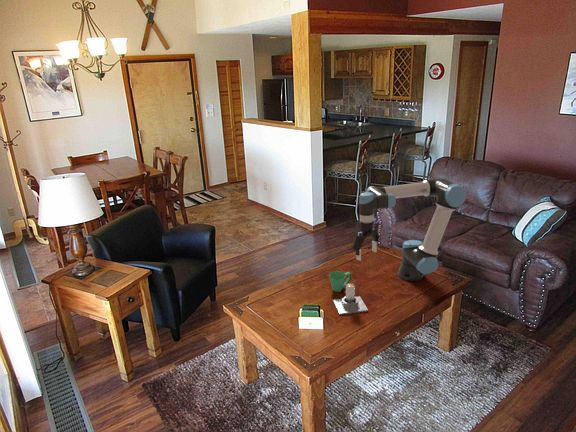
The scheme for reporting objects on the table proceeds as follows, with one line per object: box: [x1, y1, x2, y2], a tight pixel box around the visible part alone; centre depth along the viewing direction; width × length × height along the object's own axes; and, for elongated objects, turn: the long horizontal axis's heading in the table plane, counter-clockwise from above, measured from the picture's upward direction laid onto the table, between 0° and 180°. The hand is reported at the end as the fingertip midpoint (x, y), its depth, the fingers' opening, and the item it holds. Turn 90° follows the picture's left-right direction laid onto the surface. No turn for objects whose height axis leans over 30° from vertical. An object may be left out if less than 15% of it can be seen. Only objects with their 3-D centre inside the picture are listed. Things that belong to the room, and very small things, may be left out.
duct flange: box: [332, 295, 369, 316], centre depth 223 cm, size 16×14×4 cm
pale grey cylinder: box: [345, 283, 356, 304], centre depth 221 cm, size 5×5×12 cm
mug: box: [328, 270, 352, 293], centre depth 239 cm, size 15×10×10 cm
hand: (366, 255), depth 225 cm, fingers open, 13 cm apart
